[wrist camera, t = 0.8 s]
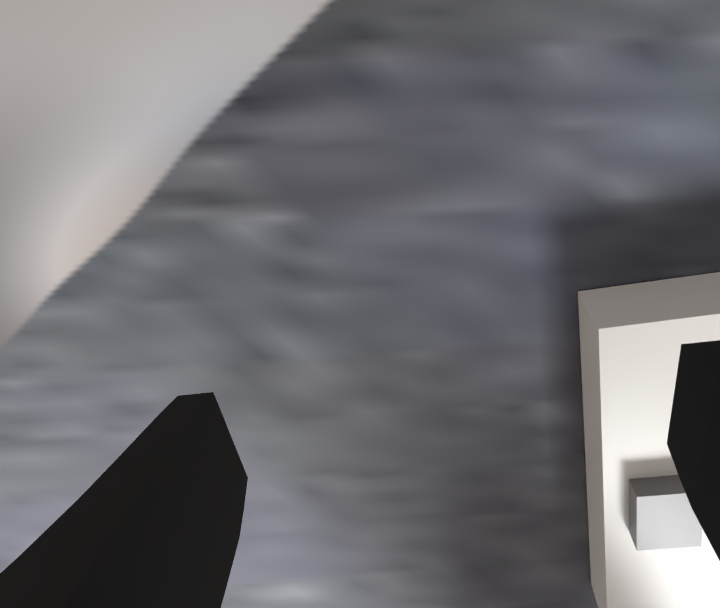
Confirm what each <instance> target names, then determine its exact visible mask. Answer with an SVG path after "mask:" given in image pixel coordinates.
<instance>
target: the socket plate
mask: <svg viewBox="0 0 720 608" xmlns="http://www.w3.org/2000/svg"><path fill="white" fill-rule="evenodd" d="M578 307H579V329H580V351H581V373H582V395H583V417H584V439H585V461H586V483H587V505H588V527H589V549H590V571H591V585H592V588H593V592H594V595H595V598H596V602H597V605H598V608H720V561H719V559H718V557H717V555H716V553H715V551H714V549H713V548H712V546H711V544H710V542H709V540H708V538H707V536H706V534H705V533H704V531H703V529H702V527H701V525H700V523H699V521H698V519H697V517H696V515H695V513H694V512H693V510H692V508H691V505H690V503H689V500H688V498H687V496H686V493H685V491H684V488H683V486H682V483H681V481H680V478H679V475H678V473H677V470H676V467H675V465H674V462H673V459H672V457H671V454H670V451H669V448H668V446H667V438H668V431H669V425H670V418H671V411H672V404H673V397H674V390H675V383H676V377H677V370H678V363H679V356H680V349H681V344H688V343H698V342H707V341H717V340H720V272H716V273H708V274H701V275H694V276H686V277H679V278H672V279H665V280H657V281H650V282H643V283H635V284H628V285H621V286H613V287H606V288H599V289H592V290H584V291H578Z"/></svg>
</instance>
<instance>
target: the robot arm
mask: <svg viewBox="0 0 720 608" xmlns="http://www.w3.org/2000/svg"><path fill="white" fill-rule="evenodd" d="M667 446H668V448H669V451H670V454H671V457H672V459H673V462H674V465H675V467H676V470H677V473H678V475H679V478H680V481H681V483H682V486H683V488H684V491H685V493H686V496H687V498H688V500H689V503H690V505H691V508H692V510H693V512H694V513H695V515H696V517H697V519H698V521H699V523H700V525H701V527H702V529H703V531H704V533H705V534H706V536H707V538H708V540H709V542H710V544H711V546H712V548H713V549H714V551H715V553H716V555H717V557H718V559H719V561H720V340H717V341H707V342H698V343H688V344H681V349H680V356H679V363H678V370H677V377H676V383H675V390H674V397H673V404H672V411H671V418H670V425H669V431H668V438H667ZM247 479H248V477H247V475H246V472H245V470H244V467H243V465H242V462H241V460H240V458H239V455H238V453H237V450H236V448H235V445H234V443H233V440H232V438H231V435H230V433H229V430H228V428H227V425H226V423H225V420H224V418H223V415H222V413H221V411H220V408H219V406H218V403H217V401H216V398H215V396H214V393H213V392H211V393H201V394H192V395H182V396H177V397H176V398H175V399H174V400H173V401H172V402H171V403H170V404H169V405H168V406H167V407H166V408H165V409H164V410H163V411H162V412H161V413H160V414H159V415H158V416H157V417H156V418H155V419H154V420H153V422H152V423H151V424H150V425H149V426H148V427H147V428H146V429H145V430H144V431H143V432H142V433H141V434H140V435H139V436H138V437H137V438H136V440H135V441H134V442H133V443H132V444H131V445H130V446H129V447H128V448H127V449H126V450H125V451H124V452H123V453H122V454H121V455H120V456H119V457H118V459H117V460H116V461H115V462H114V463H113V464H112V465H111V466H110V467H109V468H108V469H107V470H106V471H105V472H104V473H103V474H102V475H101V476H100V477H99V478H98V479H97V480H96V481H95V482H94V483H93V485H92V486H91V487H90V488H89V489H88V490H87V491H86V492H85V493H84V494H83V495H82V496H81V497H80V498H79V499H78V500H77V501H76V502H75V503H74V504H73V505H72V506H71V507H70V508H69V509H68V510H67V511H66V512H65V513H64V514H63V515H61V516H60V517H59V518H58V519H57V520H56V521H55V522H54V523H53V524H52V525H51V526H50V527H49V528H48V529H47V530H46V531H45V532H44V533H43V534H42V535H41V536H40V537H39V538H38V539H37V540H36V541H35V542H34V543H33V544H32V545H30V546H29V547H28V548H27V549H26V550H25V551H24V552H23V553H22V554H21V555H20V556H19V557H18V558H17V559H16V560H15V561H14V562H13V563H11V564H10V565H9V566H8V567H7V568H6V569H5V570H4V571H3V572H2V573H0V608H221V604H222V601H223V597H224V593H225V590H226V586H227V582H228V579H229V575H230V571H231V567H232V564H233V560H234V556H235V552H236V548H237V544H238V540H239V536H240V530H241V523H242V517H243V511H244V503H245V495H246V487H247Z"/></svg>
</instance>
